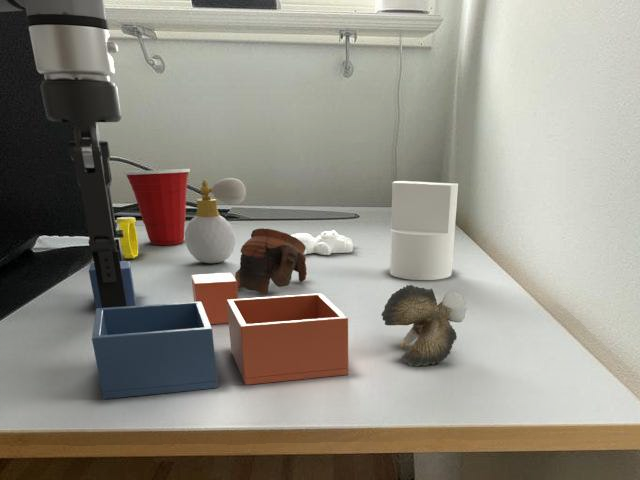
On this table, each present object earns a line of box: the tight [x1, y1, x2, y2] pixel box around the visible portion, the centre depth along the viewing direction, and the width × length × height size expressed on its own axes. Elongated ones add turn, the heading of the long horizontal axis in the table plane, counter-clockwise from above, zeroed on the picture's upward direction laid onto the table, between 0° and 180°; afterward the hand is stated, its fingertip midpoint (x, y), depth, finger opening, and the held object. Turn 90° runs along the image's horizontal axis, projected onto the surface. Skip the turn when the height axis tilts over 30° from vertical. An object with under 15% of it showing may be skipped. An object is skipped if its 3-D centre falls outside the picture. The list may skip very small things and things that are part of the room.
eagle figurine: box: [381, 284, 468, 367], centre depth 64 cm, size 8×7×9 cm
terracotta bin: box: [227, 292, 349, 386], centre depth 60 cm, size 9×9×5 cm
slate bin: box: [91, 301, 219, 400], centre depth 57 cm, size 9×9×5 cm
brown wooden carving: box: [234, 227, 308, 295], centre depth 86 cm, size 12×10×8 cm
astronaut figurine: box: [290, 229, 354, 256], centre depth 110 cm, size 9×12×3 cm
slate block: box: [88, 260, 137, 310], centre depth 79 cm, size 4×4×4 cm
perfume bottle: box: [184, 177, 247, 264], centre depth 99 cm, size 8×10×12 cm
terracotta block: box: [190, 272, 239, 325], centre depth 73 cm, size 4×4×4 cm
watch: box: [116, 216, 139, 259], centre depth 103 cm, size 6×3×6 cm, turn 6°
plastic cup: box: [123, 168, 191, 246], centre depth 114 cm, size 11×11×12 cm
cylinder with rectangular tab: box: [389, 180, 459, 281], centre depth 93 cm, size 9×9×12 cm
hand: (115, 301), depth 80 cm, fingers open, 7 cm apart
